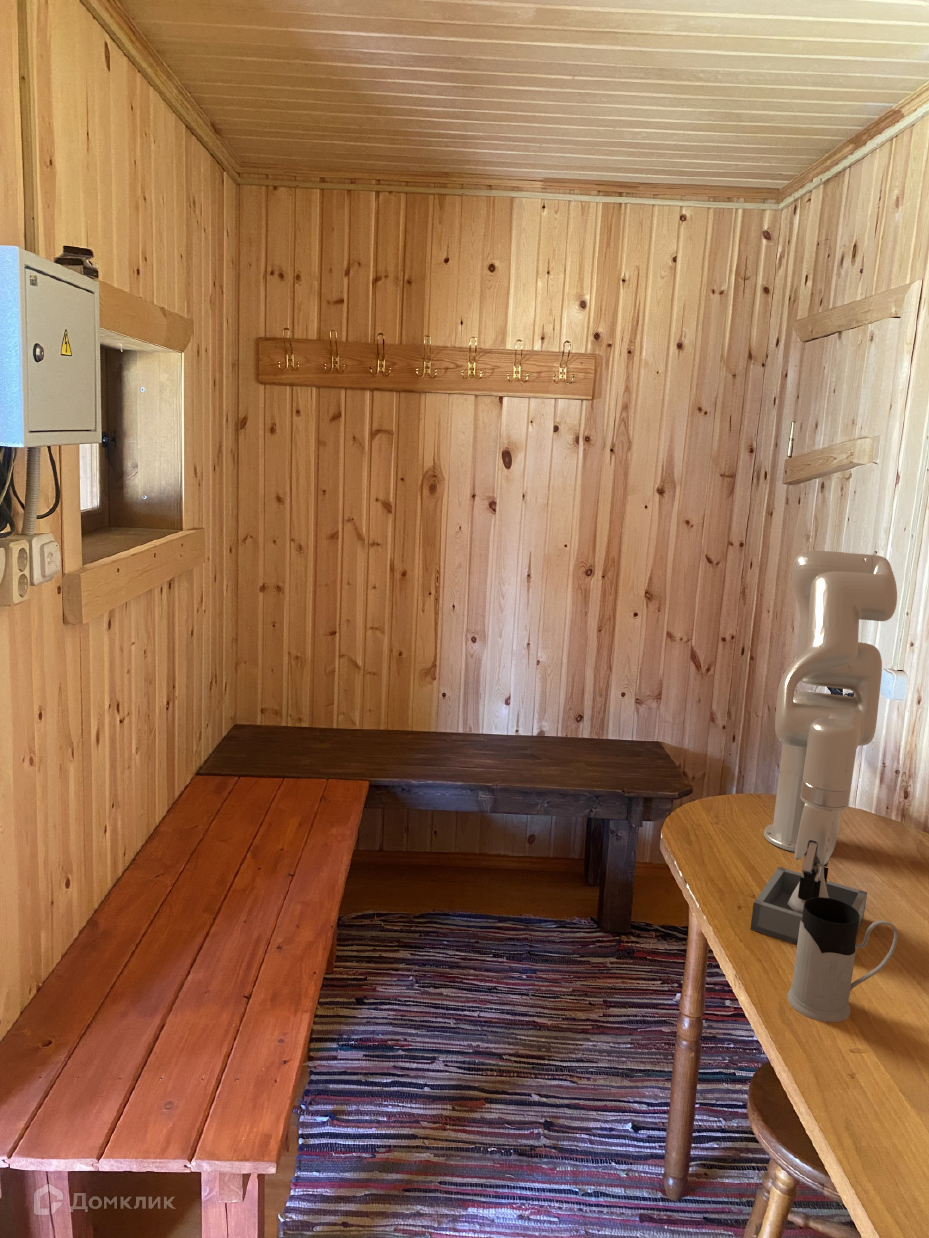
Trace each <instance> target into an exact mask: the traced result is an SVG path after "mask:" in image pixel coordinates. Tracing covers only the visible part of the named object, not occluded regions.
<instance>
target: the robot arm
mask: <svg viewBox="0 0 929 1238" xmlns="http://www.w3.org/2000/svg"><path fill="white" fill-rule="evenodd" d="M791 571H792V572H791V573H792V574H791V577H792V586H793V589H794V595H795V598H796V600H797V605H798V610H799V624H798V634H797V643H796V653H795V659H794V661H793V662H792V663H791V664H790V665H789V666H788V667H787V668H786V670H785V671H784V673H783V676H781V679H780V682H779V684H778V688H777V695H776V704H775V705H776V707H775V718H774V729H775V730H774V731H775V735H776V737H777V739H778V741H779V742H781V743H782V747H781V757H780V765H779V772H778V773H779V775H778V781H777V782H778V783H777V788H776V799H775V805H774V806H775V807H774V814H773V815H774V816H773V820H772V821H773V822H772V823H770V824H768V825H766V826H765V827H764V831H763V836H764V837H765V839H766V841H768V842H769V843H770V844H771V845H774V846H776V847H778V848H780V849H783V850H786V851H788V852H792V853H794V858H795V860H796V861H799V860H800V861H801V860H802V859H803V863H802V869H801V872H800V873H801V876H800V884H799V891H798V898H799V899H802V900H808V899H810V898H815V897H819V893H820V885H821V881H820V880H819V878H820V873H821V867H822V866H823V865H824V879H825V883H827V881H828V874H829V867H828V866H829V864H830V863H829V862H830V857H831V856H832V854H833V853H834V850H835V848H836V844H837V840H838V834H839V829H840V823H841V822H840V821H841V820H840V819H841V812H842V811H844V810H846V809H848V808H849V807H850V806H849V805H850V797H851V791H852V782H853V777H854V776H853V775H854V769H855V762H856V756H857V748H858V747H860V746H861V747H862V746H863V747H864V746H867V745H869V744H871V742H873V740H874V738H875V735H876V728H877V723H878V713H879V712H878V711H879V703H880V693H881V685H882V684H881V683H882V675H883V673H882V672H883V661H882V660H883V659H882V656H881V652H880V650H879V649H878V648H877V647H876V646H875V645H873V644H870V643H868V642H859V630H860V629H859V628H860V620H864V621H873V622H874V621H875V622H887V621H890V619H892V617H893V616H894V614H895V612H896V608H897V604H898V603H897V602H898V588H897V582H896V579H895V575H894V571H893V569H892V566H891V563H890V561H889V560H888V558H886V557H884V556H881V555H875V554H867V553H866V554H865V553H855V552H842V551H831V550H808V551H804V552H801V553H798V554H797V555H796V557H794V560H793V564H792V570H791ZM799 682H802V683H803V684H806V685H810V686H816V687H824V688H825V687H826V688H833V689H840V690H841V689H842V690H843V689H844V690H849V691H851V692H852V693H853V696H847V695H839V694H832V693H825V692H818V691H817V692H816V691H796V692H795V690H796V687H797V685H798V684H799ZM803 857H804V858H803ZM815 858H816V859H819V862H816V861H814V860H815ZM813 866H817V870H816V871H815V869H813Z"/></svg>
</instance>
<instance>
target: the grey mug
mask: <svg viewBox="0 0 929 1238" xmlns="http://www.w3.org/2000/svg"><path fill="white" fill-rule="evenodd" d="M859 918H860V916H859V913H858V912H857V910H856V909H854V908H853V907H852V906H850V905H848V904H846V903H844V902H842V901H839V900H835V899H831V898H824V897H815V898H810V899H808V900H806V901H805V903H804V908H803V915H802V920H801V921H800V928H799V936H798V943H797V945H796V952H795V958H794V959H795V960H794V966H793V974H792V981H791V986H790V989H789V990H788V992H787V993H786V994H787V995H786V996H787V997H786V998H787V1002H788V1003H789V1004H790V1005H789V1006H791V1007H792V1008H793V1009H794V1010H796V1011H797V1012H798V1013H800V1014H801V1015H803V1016H805V1017H807V1018H809V1019H811V1020H815V1021H819V1022H824V1023H839V1022H843V1021H845V1020H848V1018H849V1017H850V1015H851V1011H852V1010H851V1006H850V1003H849V1002H850V1001H849V1000H850V995H851V991H852V990H853V989H854V988H855V987H857V986H858V985H860V984H862V983H863V982H865V981H866V980H868V979H870V978H871V977H873V976H874V975H876V974H878V973H879V972H880V971H882V970H883V969H884V967H886V965H887V964H888V963H889V961H890V960H891V958H892V957H893V955H894V952H895V951H896V950H895V949H896V948H897V944H898V939H899V937H898V930H897V928H896V926H895V925H894V924H893V923H892V922H890V921H887V920H876V921H874V922H872V923H871V924H869V926H868V927H867V929H866V931H865V933H864V939H863V941H862V942H861V943H858V944H857V937H858V932H859V929H858V925H859ZM880 925H887V926H890V927H891V928H892V930H893V939H892V943H891V946H890V948H889V951H888V953H887V954H886V956H885V957H884V958H883V960H882V961H881V962H880V963H879V964H878V965H877V966H875V967H874V968H873V969H871V970H870V971H868V972H867V973H865V974H864V975H862V976H861V977H859V978H857V979H856V980H854V981H852V980H853V973H854V967H855V960H856V954H857V953H856V952H857V949H863V948H865V947H866V946H867V945H868V943H869V939H870V935H871V932H872V931H873V930H874V929H875V928H876V927H878V926H880ZM857 931H858V932H857Z"/></svg>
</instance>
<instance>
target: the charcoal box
mask: <svg viewBox="0 0 929 1238" xmlns="http://www.w3.org/2000/svg"><path fill="white" fill-rule="evenodd" d="M801 873H802V872H798V871H795V870H791V869H788V868H784V867H780V866H778V867H777V869H776V870H775V872H774V873H773V874H772V876H771V877H770V878H769V880H768V882H767V883H766V884H765V886H764V887H763V889H761V891H760V893H759V895H757V897H756V898H755V900H754V901H753V905H752V913H751V923H750V928H749V929H750V930H751V931H754V932H757V933H760V934H763V935H765V936H769V937H772V938H775V939H778V940H781V941H784V942H787V943H790V944H794V945H796V946H797V943H798V936H799V928H800V921H801V920H802V915H803V914H801V913H798V912H795V911H793V910H792V908H791V907H790V906H789V905H788V901H789V899H790V897H791V895H792V894H793V892H794V890H795V888H796V887H797V885H798V883H799V882H800V876H801ZM826 888H827V892H828V896H829V898H831V899H835V900H839V901H842V902H844V903H846V904H848V905H850V906H852V907H853V908H854V909H856V910H857V912H858V913H859V916H860V918H859V925H858V931H857V933H858V932H859V929H860V927H861V926H862V923H863V920H864V916H865V909H866V903H867V896H868V891H864V890H861V889H857V888H854V887H851V886H848V885H844V884H839V883H837V882H834V881H830V880H827V883H826Z"/></svg>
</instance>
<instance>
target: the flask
mask: <svg viewBox="0 0 929 1238" xmlns="http://www.w3.org/2000/svg"><path fill="white" fill-rule="evenodd" d="M814 861H816V862H819V859H816V858H815V860H814ZM824 867H825V866H824V865H823V866H822V867H821V873H820V878H819V880H820V881H821V885H820V893H819V897H824V898H829V896H828V892H827V888H826V883H825V879H824ZM813 869H815V871H816V870H817V866H813ZM799 884H800V882H799V883H798V885H797V887H796V888H795V890H794V892H793V894H792V895H791V897H790V899H789V901H788V905H789V906H790V907H791V908H792V910H793V911H795V912H798V913H801V914H803V908H804V903H805V901H806V900H802V899H799V898H798V891H799Z"/></svg>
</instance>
